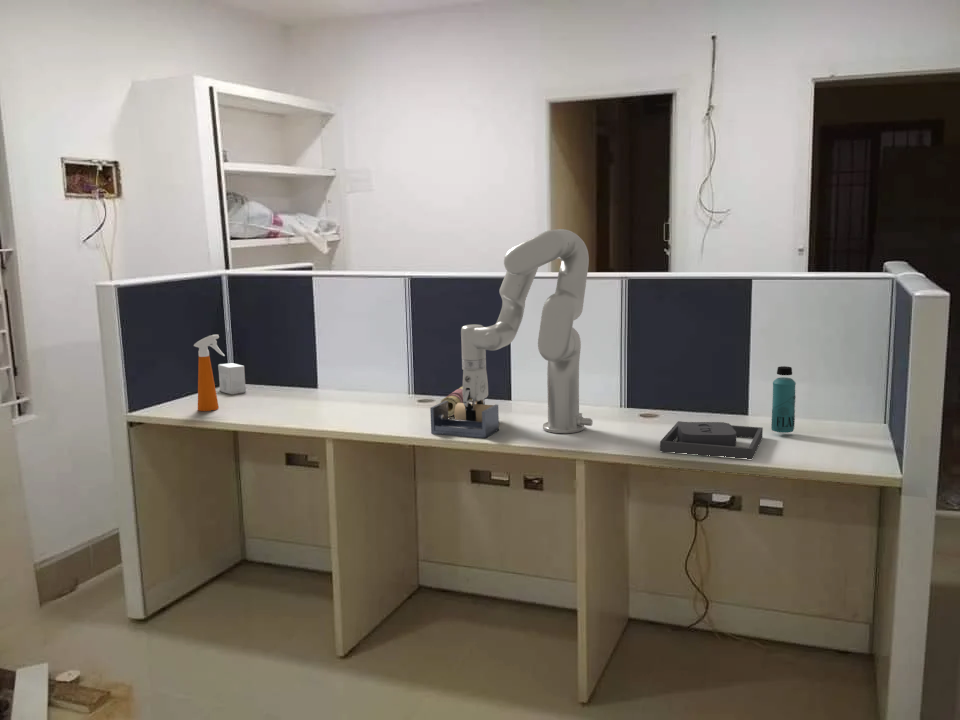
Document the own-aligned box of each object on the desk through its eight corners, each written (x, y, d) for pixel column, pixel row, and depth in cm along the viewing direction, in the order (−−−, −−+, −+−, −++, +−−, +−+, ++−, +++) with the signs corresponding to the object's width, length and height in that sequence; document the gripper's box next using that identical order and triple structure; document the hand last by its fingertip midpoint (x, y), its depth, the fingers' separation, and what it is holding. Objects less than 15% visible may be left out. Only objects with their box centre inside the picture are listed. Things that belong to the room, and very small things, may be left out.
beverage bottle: (773, 437, 246) (775, 368, 243) (768, 432, 253) (770, 364, 250) (796, 438, 246) (799, 368, 242) (791, 432, 252) (794, 364, 249)
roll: (497, 421, 274) (496, 403, 273) (489, 426, 269) (488, 407, 267) (462, 418, 279) (461, 400, 278) (454, 423, 274) (453, 405, 272)
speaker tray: (762, 437, 247) (762, 427, 246) (751, 460, 225) (752, 449, 225) (677, 431, 257) (678, 421, 256) (660, 452, 235) (660, 441, 235)
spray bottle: (225, 410, 299) (220, 335, 295) (194, 411, 299) (188, 336, 295) (231, 406, 306) (226, 332, 302) (201, 407, 306) (195, 333, 302)
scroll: (463, 414, 279) (481, 401, 298) (453, 393, 279) (472, 381, 298) (444, 423, 282) (462, 409, 300) (434, 402, 281) (453, 390, 300)
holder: (498, 430, 263) (498, 404, 262) (485, 438, 254) (485, 411, 253) (445, 425, 270) (445, 400, 269) (431, 433, 261) (430, 407, 260)
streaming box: (676, 439, 248) (676, 422, 248) (728, 439, 247) (728, 422, 246) (683, 453, 234) (683, 434, 233) (737, 453, 233) (738, 435, 232)
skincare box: (246, 392, 331) (244, 365, 329) (230, 394, 327) (228, 367, 325) (235, 388, 339) (233, 362, 337) (219, 391, 335) (217, 364, 333)
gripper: (473, 369, 261) (475, 427, 264) (495, 360, 277) (497, 415, 280) (451, 368, 264) (452, 425, 267) (474, 359, 280) (476, 413, 283)
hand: (475, 419), depth 274 cm, fingers closed on roll, 6 cm apart
